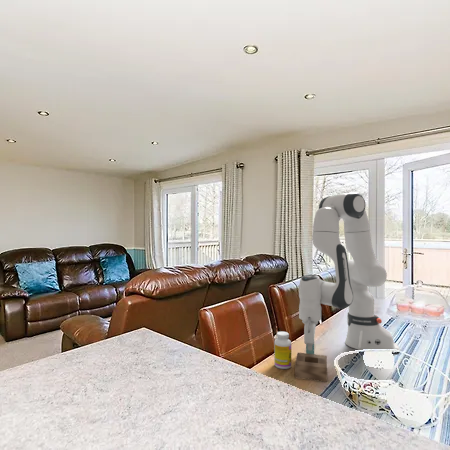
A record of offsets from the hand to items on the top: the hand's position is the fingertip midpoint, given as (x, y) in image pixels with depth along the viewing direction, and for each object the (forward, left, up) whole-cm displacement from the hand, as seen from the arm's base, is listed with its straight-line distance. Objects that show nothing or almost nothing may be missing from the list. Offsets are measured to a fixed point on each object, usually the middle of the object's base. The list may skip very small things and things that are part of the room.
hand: (310, 347), depth 131 cm
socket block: (-1, +13, -5) cm, 14 cm away
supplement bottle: (+10, +10, -5) cm, 15 cm away
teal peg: (0, 0, -5) cm, 5 cm away
